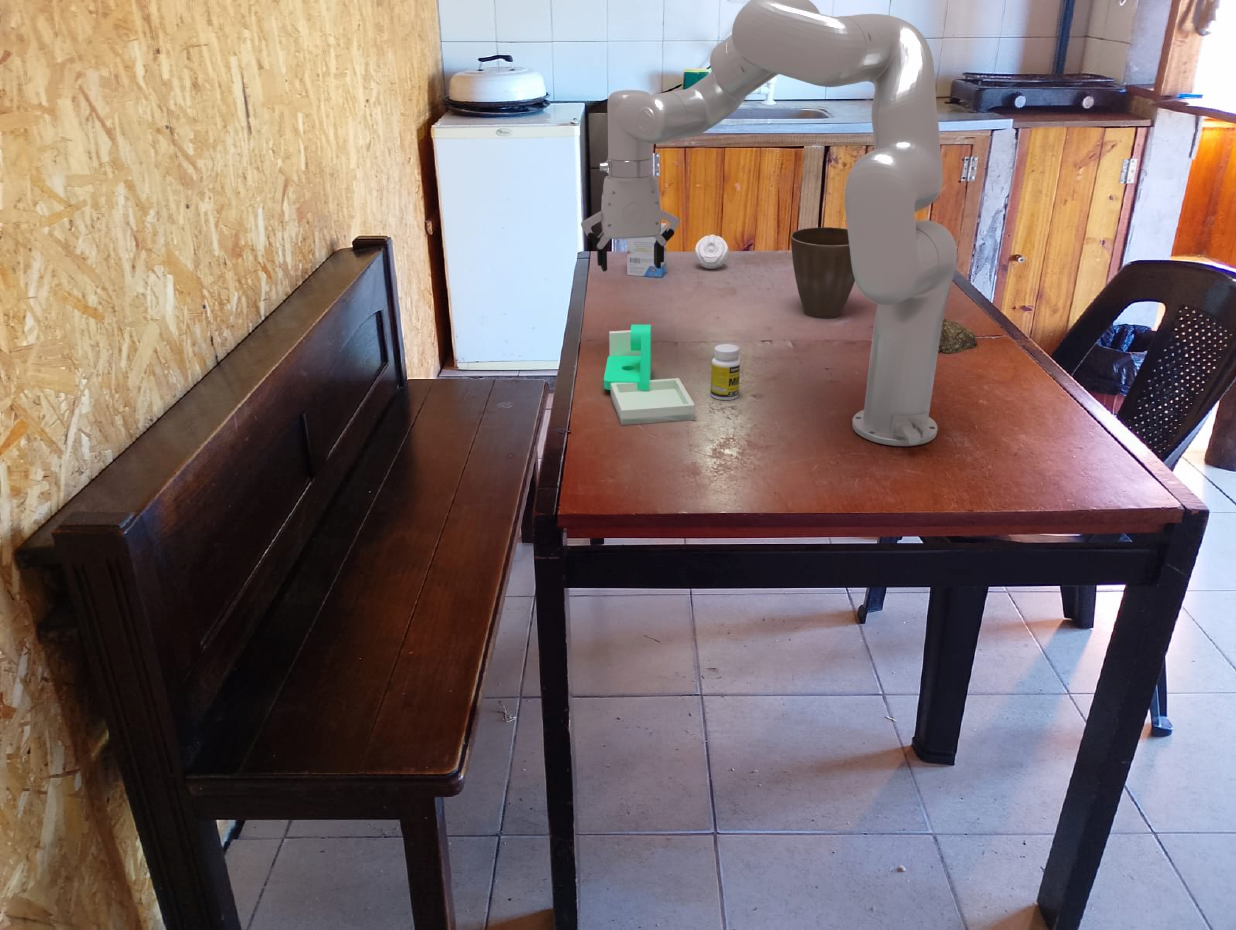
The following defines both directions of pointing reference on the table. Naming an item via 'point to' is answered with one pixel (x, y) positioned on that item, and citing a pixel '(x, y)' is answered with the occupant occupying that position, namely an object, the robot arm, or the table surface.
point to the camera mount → (632, 361)
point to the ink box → (644, 256)
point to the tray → (652, 402)
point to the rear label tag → (621, 344)
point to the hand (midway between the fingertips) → (630, 268)
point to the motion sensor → (711, 251)
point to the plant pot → (822, 270)
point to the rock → (955, 338)
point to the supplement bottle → (725, 372)
